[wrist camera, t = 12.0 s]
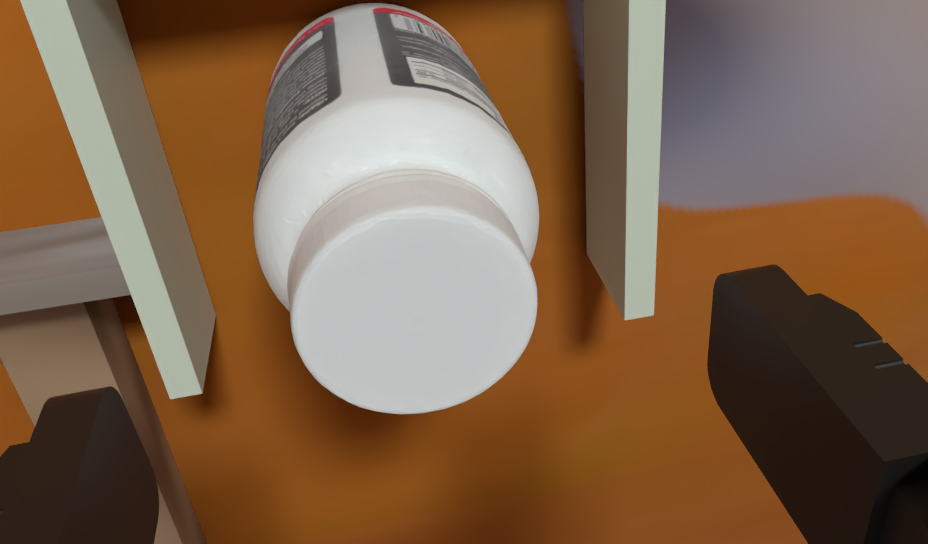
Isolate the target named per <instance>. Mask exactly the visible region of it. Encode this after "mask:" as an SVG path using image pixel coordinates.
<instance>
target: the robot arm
mask: <svg viewBox="0 0 928 544" xmlns="http://www.w3.org/2000/svg"><path fill="white" fill-rule="evenodd" d="M708 375H709V380H710V385H711V388H712V391H713V394H714V397H715V399H716V401H717V403H718V405H719V407H720V409H721V410H722V412H723V413H724V415H725V416H726V418H727V419H728V421H729V422H730V424H731V425H732V427H733V429H734V430H735V432H736V433H737V435H738V436H739V438H740V439H741V441H742V442H743V444H744V445H745V447H746V449H747V450H748V452H749V453H750V455H751V456H752V458H753V459H754V461H755V462H756V464H757V465H758V467H759V468H760V470H761V472H762V473H763V475H764V476H765V478H766V479H767V481H768V482H769V484H770V485H771V487H772V488H773V490H774V492H775V493H776V495H777V496H778V498H779V499H780V501H781V502H782V504H783V505H784V507H785V508H786V510H787V512H788V513H789V515H790V516H791V518H792V519H793V521H794V522H795V524H796V525H797V527H798V528H799V530H800V531H801V533H802V535H803V536H804V538H805V539H806V541H807V542H808V544H928V383H927V382H926V381H925V380H924V379H923V378H922V377H921V376H920V375H919V374H918V373H917V372H916V371H915V370H914V369H913V368H912V367H911V366H910V365H909V364H907V365H905V364H904V362H903V358H902V357H901V356H900V355H899V354H898V353H897V352H896V351H895V350H894V349H893V348H892V347H891V346H890V345H889V344H888V343H883V341H882V337H881V336H880V335H879V334H878V333H877V332H876V331H875V330H874V329H873V328H872V327H871V326H870V325H869V324H868V323H867V322H866V321H865V320H864V319H863V318H862V317H861V316H860V315H859V314H858V313H857V312H855V311H853V310H851V309H849V308H847V307H845V306H843V305H842V304H840V303H838V302H836V301H834V300H832V299H830V298H828V297H826V296H824V295H823V294H821V293H819V294H814V295H809V296H807V295H806V294H805V293H804V292H803V290H802V289H801V288H800V287H799V286H798V285H797V284H796V283H795V282H794V281H793V280H792V279H791V278H790V277H789V276H788V275H787V274H786V272H785V271H784V270H783V269H781V268H780V267H779V266H777V265H767V266H762V267H757V268H751V269H746V270H741V271H735V272H730V273H725V274H721V275H719V276H718V277H717V279H716V281H715V284H714V290H713V302H712V314H711V326H710V338H709V350H708ZM158 516H159V494H158V487H157V481H156V477H155V474H154V470H153V468H152V465H151V463H150V461H149V459H148V456H147V454H146V452H145V449H144V447H143V445H142V443H141V440H140V438H139V436H138V433H137V431H136V429H135V427H134V424H133V422H132V420H131V418H130V415H129V413H128V411H127V408H126V406H125V404H124V402H123V399H122V397H121V395H120V394H119V392H118V391H117V390H116V389H115V388H114V387H111V386H109V387H103V388H98V389H92V390H87V391H82V392H76V393H71V394H66V395H60V396H55V397H50V398H49V399H47V401H46V402H45V403H44V406H43V408H42V410H41V413H40V416H39V418H38V421H37V423H36V426H35V429H34V431H33V434H32V436H31V439H30V442H28V443H23V444H18V445H12V446H10V447H9V448H8V449H7V450H6V451H5V452H4V453H3V454H2V456H1V457H0V544H154V540H155V534H156V529H157V523H158Z"/></svg>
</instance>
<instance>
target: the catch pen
mask: <svg viewBox="0 0 928 544" xmlns="http://www.w3.org/2000/svg"><path fill="white" fill-rule="evenodd" d="M20 1H21V4H22V6H23V9H24V12H25V14H26V17H27V20H28V22H29V25H30V28H31V30H32V33H33V36H34V38H35V41H36V44H37V46H38V49H39V52H40V54H41V57H42V60H43V62H44V65H45V67H46V70H47V73H48V75H49V78H50V81H51V83H52V86H53V89H54V91H55V94H56V97H57V99H58V102H59V105H60V107H61V110H62V113H63V115H64V118H65V121H66V123H67V126H68V129H69V131H70V134H71V137H72V139H73V142H74V145H75V147H76V150H77V153H78V155H79V158H80V161H81V163H82V166H83V169H84V171H85V174H86V177H87V179H88V182H89V184H90V187H91V190H92V192H93V195H94V198H95V200H96V203H97V206H98V208H99V211H100V214H101V216H102V219H103V222H104V224H105V227H106V230H107V232H108V235H109V238H110V240H111V243H112V246H113V248H114V251H115V254H116V256H117V259H118V262H119V264H120V267H121V270H122V272H123V275H124V278H125V280H126V283H127V286H128V288H129V291H130V294H131V296H132V299H133V302H134V304H135V307H136V309H137V312H138V315H139V317H140V320H141V323H142V325H143V328H144V331H145V333H146V336H147V339H148V341H149V344H150V347H151V349H152V352H153V355H154V357H155V360H156V363H157V365H158V368H159V371H160V373H161V376H162V379H163V381H164V384H165V387H166V389H167V392H168V395H169V397H170V399H175V398H180V397H186V396H192V395H198V394H202V393H203V388H204V382H205V376H206V370H207V364H208V359H209V353H210V347H211V341H212V335H213V329H214V324H215V318H216V314H215V311H214V308H213V305H212V302H211V298H210V295H209V292H208V289H207V286H206V282H205V279H204V276H203V273H202V270H201V267H200V263H199V260H198V257H197V254H196V251H195V247H194V244H193V241H192V238H191V235H190V232H189V228H188V225H187V222H186V219H185V216H184V212H183V209H182V206H181V203H180V200H179V196H178V193H177V190H176V187H175V184H174V181H173V177H172V174H171V171H170V168H169V165H168V161H167V158H166V155H165V152H164V149H163V146H162V142H161V139H160V136H159V133H158V130H157V126H156V123H155V120H154V117H153V114H152V111H151V107H150V104H149V101H148V98H147V95H146V91H145V88H144V85H143V82H142V79H141V75H140V72H139V69H138V66H137V63H136V60H135V56H134V53H133V50H132V47H131V44H130V40H129V37H128V34H127V31H126V28H125V25H124V21H123V18H122V15H121V12H120V9H119V5H118V2H117V0H20ZM665 6H666V0H583V32H584V33H583V39H584V104H585V169H586V234H587V255H588V257H589V259H590V261H591V262H592V264H593V266H594V268H595V269H596V271H597V273H598V275H599V276H600V278H601V280H602V282H603V283H604V285H605V287H606V289H607V290H608V292H609V294H610V296H611V297H612V299H613V301H614V303H615V304H616V306H617V308H618V310H619V311H620V313H621V315H622V317H623V319H624V320H630V319H636V318H641V317H647V316H653V315H654V298H655V272H656V245H657V219H658V192H659V166H660V138H661V113H662V86H663V60H664V33H665Z"/></svg>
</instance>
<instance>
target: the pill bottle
mask: <svg viewBox="0 0 928 544" xmlns="http://www.w3.org/2000/svg"><path fill="white" fill-rule="evenodd" d="M253 222H254V240H255V247H256V252H257V256H258V259H259V262H260V266H261V269H262V271H263V274H264V276H265V278H266V280H267V282H268V284H269V286H270V288H271V289H272V291H273V292H274V294H275V295H276V297H277V298H278V299H279V301H280V302H281V303H282V304H283V305H284V307H285V308H286V309H287V310H288V311H289V312H290V323H291V331H292V336H293V339H294V343H295V346H296V349H297V351H298V353H299V355H300V357H301V359H302V361H303V363H304V364H305V366H306V367H307V369H308V370H309V371H310V373H311V374H312V375H313V376H314V378H315V379H316V380H317V381H318V382H319V383H320V384H321V385H322V386H324V387H325V388H327V389H328V390H329V391H330V392H332V393H333V394H335V395H336V396H338V397H340V398H342V399H343V400H345V401H347V402H349V403H351V404H353V405H356V406H358V407H361V408H365V409H368V410H372V411H377V412H383V413H392V414H417V413H427V412H432V411H437V410H442V409H446V408H449V407H452V406H455V405H457V404H460V403H463V402H465V401H467V400H469V399H471V398H473V397H475V396H477V395H479V394H481V393H482V392H484V391H485V390H487V389H488V388H489V387H491V386H492V385H493V384H495V383H496V382H497V381H498V380H499V379H500V378H502V377H503V376H504V375H505V374H506V373H507V372H508V371H509V370H510V369H511V368H512V366H513V365H514V364H515V363H516V362H517V360H518V359H519V357H520V356H521V354H522V353H523V352H524V350H525V348H526V346H527V344H528V342H529V340H530V337H531V334H532V332H533V329H534V325H535V321H536V314H537V287H536V282H535V277H534V274H533V272H532V269H531V266H530V262H531V259H532V257H533V254H534V250H535V246H536V242H537V236H538V228H539V207H538V198H537V193H536V189H535V185H534V181H533V178H532V175H531V171H530V168H529V166H528V164H527V162H526V160H525V158H524V156H523V154H522V152H521V150H520V149H519V147H518V146H517V144H516V143H515V141H514V139H513V137H512V135H511V133H510V132H509V130H508V128H507V127H506V125H505V123H504V121H503V119H502V117H501V115H500V114H499V112H498V111H497V109H496V107H495V105H494V103H493V101H492V100H491V98H490V96H489V94H488V92H487V90H486V89H485V87H484V85H483V83H482V82H481V80H480V78H479V76H478V74H477V71H476V69H475V68H474V66H473V65H472V63H471V62H470V60H469V58H468V57H467V55H466V54H465V52H464V51H463V49H462V48H461V46H460V45H459V44H458V43H457V41H456V40H455V39H454V38H453V37H452V36H451V35H450V34H449V33H448V32H447V31H446V30H445V29H444V28H443V27H442V26H440V25H439V24H438V23H436V22H435V21H433V20H431V19H430V18H428V17H426V16H425V15H423V14H421V13H419V12H416V11H414V10H411V9H408V8H406V7H402V6H398V5H394V4H385V3H359V4H355V5H351V6H346V7H343V8H340V9H336V10H334V11H331V12H329V13H327V14H325V15H323V16H321V17H319V18H318V19H316V20H314V21H313V22H311V23H310V24H308V25H307V26H306V27H305V28H303V29H302V30H301V31H300V32H299V33H298V34H297V35H296V36H295V38H294V39H293V40H292V41H291V42H290V44H289V45H288V46H287V47H286V48H285V50H284V52H283V53H282V55H281V57H280V59H279V61H278V63H277V65H276V68H275V70H274V72H273V75H272V79H271V83H270V87H269V92H268V98H267V103H266V108H265V119H264V129H263V137H262V150H261V158H260V166H259V172H258V180H257V185H256V194H255V201H254V211H253Z"/></svg>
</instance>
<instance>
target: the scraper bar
mask: <svg viewBox="0 0 928 544" xmlns="http://www.w3.org/2000/svg"><path fill="white" fill-rule="evenodd" d="M127 295H131V294H130V291H129V288H128V286H127V283H126V280H125V278H124V275H123V272H122V270H121V267H120V264H119V262H118V259H117V256H116V254H115V251H114V248H113V246H112V243H111V240H110V238H109V235H108V232H107V230H106V227H105V224H104V222H103V219H102V217H100V218H93V219H86V220H80V221H73V222H66V223H60V224H53V225H46V226H40V227H33V228H26V229H19V230H13V231H6V232H0V358H1V360H2V362H3V364H4V366H5V368H6V370H7V372H8V374H9V376H10V378H11V380H12V382H13V384H14V386H15V388H16V390H17V392H18V394H19V396H20V398H21V400H22V402H23V404H24V406H25V408H26V410H27V412H28V414H29V416H30V418H31V420H32V422H33V424H34V426H36V423H37V421H38V418H39V416H40V413H41V410H42V408H43V406H44V403H45V402H46V401H47V399H49V398H50V397H55V396H60V395H66V394H71V393H76V392H82V391H87V390H92V389H98V388H103V387H109V386H111V387H114V388H115V389H116V390H117V391H118V392H119V394H120V395H121V397H122V399H123V402H124V404H125V406H126V408H127V411H128V413H129V415H130V418H131V420H132V422H133V424H134V427H135V429H136V431H137V433H138V436H139V438H140V440H141V443H142V445H143V447H144V449H145V452H146V454H147V456H148V459H149V461H150V463H151V465H152V468H153V470H154V474H155V477H156V481H157V487H158V494H159V516H158V523H157V529H156V534H155V540H154V544H207V543H206V540H205V537H204V535H203V532H202V530H201V527H200V524H199V522H198V519H197V517H196V514H195V511H194V509H193V506H192V504H191V501H190V499H189V496H188V493H187V491H186V488H185V486H184V483H183V480H182V478H181V475H180V473H179V470H178V467H177V465H176V462H175V460H174V457H173V454H172V452H171V449H170V447H169V444H168V441H167V439H166V436H165V434H164V431H163V429H162V426H161V423H160V421H159V418H158V416H157V413H156V410H155V408H154V405H153V403H152V400H151V397H150V395H149V392H148V390H147V387H146V384H145V382H144V379H143V377H142V374H141V372H140V369H139V366H138V364H137V361H136V359H135V356H134V353H133V351H132V348H131V346H130V343H129V340H128V338H127V335H126V333H125V330H124V327H123V325H122V322H121V320H120V317H119V314H118V312H117V309H116V307H115V304H114V302H113V299H112V298H114V297H121V296H127Z"/></svg>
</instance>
